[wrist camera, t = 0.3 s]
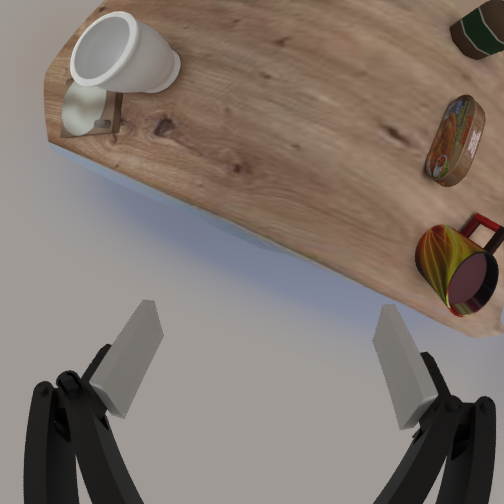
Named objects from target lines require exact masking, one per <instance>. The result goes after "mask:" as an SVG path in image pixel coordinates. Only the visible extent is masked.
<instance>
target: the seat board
mask: <svg viewBox="0 0 504 504" xmlns="http://www.w3.org/2000/svg"><path fill="white" fill-rule="evenodd" d="M122 96H123V92H113V91H109V90H105V89H102V88H100V87H97V86H94V87H87V86H82V85H79V84H78V83H77V82H75V80H74V79H73V78H71V79H68V80H67V81H66V87H65V94H64V101H63V105H62V122H61V136H60V138H68V137H75V136H84V135H93V134H103V133H116V132H119V125H120V114H121V104H122Z"/></svg>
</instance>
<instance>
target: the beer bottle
mask: <svg viewBox="0 0 504 504" xmlns="http://www.w3.org/2000/svg"><path fill="white" fill-rule="evenodd" d="M450 30H451V34H452V38H453V42H454V43H455V44H456V45H457V47H458V48H459V49H460V50H461V51H462V53H463V54H464V55H467V56H469V57H471V58H474V59H476V60H478V59H482V58H484V57H487V56H490V55H492V54H495V53H498V52H500V51H503V50H504V1H503V0H490V1H488V2H485V3H484V4H482V5H481V6H479V7H478V8H476V9H475V10H473V11H472V12H470V13H469V14H468V15H466V16H465V17H463V18H462V19H460V20H459V21H458V22H456V23H455V24H454V25H453V26H451V27H450Z"/></svg>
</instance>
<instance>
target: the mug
mask: <svg viewBox="0 0 504 504" xmlns="http://www.w3.org/2000/svg"><path fill="white" fill-rule="evenodd" d="M480 224H482V225H484V226H485V227H487V228H489V229H491V230H492V231H494V232H496V233H495V234H494V235H493V237H492V238H491V239H490V241H489V242H488V243H487V244H486V246H485V247H484V248H482V247H480V246H479V245H478V244H476V243H475V242H473V241H472V240H470V239H469V237H470V236H471V235H472V233H473V232H474V231H475V230H476V228H477V227H478V226H479V225H480ZM503 241H504V227H502V226H501V225H499V224H497V223H495V222H493V221H491V220H489V219H488V218H486V217H484V216H482V215H480V214H478V213H476V215H475V216H474V217H473V218H472V220H471V221H470V222H469V223H468V225H467V226H466V227H465V228H464V229H463V231H462V232H461V233H459V232H458V231H456V230H455V229H453V228H452V227H450V226H447V225H437V226H434V227H432V228H431V229H429V230H428V231H427V232H426V233H425V234H424V235H423V236H422V238H421V239H420V241H419V243H418V245H417V248H416V253H415V262H416V266H417V269H418V271H419V272H420V273H421V275H422V276H423V277H424V278H425V279H426V281H427V282H428V283H429V284H430V286H431V287H432V288H433V289H434V291H435V292H436V293H437V294H438V296H439V297H440V298H441V300H442V301H443V302H444V303H445V305H446V306H447V307H448V309H449V310H450V311H451V312H452V313H453V314H454V315H456V316H459V317H466V316H470V315H472V314H474V313H476V312H478V311H479V310H480V309H482V308H483V307H484V306H485V305H486V303H487V302H488V301H489V299H490V298H491V296H492V295H493V293H494V290H495V288H496V285H497V282H498V275H499V269H498V264H497V261H496V259H495V258H494V256H493V254H494V252H495V251H496V250H497V248H498V247H499V246H500V245H501V243H502V242H503Z"/></svg>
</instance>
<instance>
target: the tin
mask: <svg viewBox="0 0 504 504" xmlns="http://www.w3.org/2000/svg"><path fill="white" fill-rule="evenodd" d="M484 126H485V113H484V110H483V109H482V107H481V106H480V105H479V104H478V103H477V102H476V101H475V100H474V98H473V97H472V96H470V95H462V96H460V97H458V98H457V99H455V100H454V101H453V102H452V103H451V104H450V105H449V107H448V108H447V110H446V112H445V114H444V116H443V119H442V121H441V124H440V127H439V129H438V132H437V135H436V137H435V140H434V142H433V144H432V147H431V149H430V152H429V154H428V157H427V161H426V172H427V175H428V176H429V177H430V178H431V179H433V180H434V181H436V182H437V183H438V184H440V185H441V186H444V187H451V186H454V185H456V184H458V183H459V182H460V181H461V180H462V179H463V178H464V177H465V176H466V174H467V173H468V171H469V169H470V167H471V164H472V161H473V159H474V156H475V153H476V151H477V148H478V145H479V142H480V139H481V136H482V132H483V129H484Z"/></svg>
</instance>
